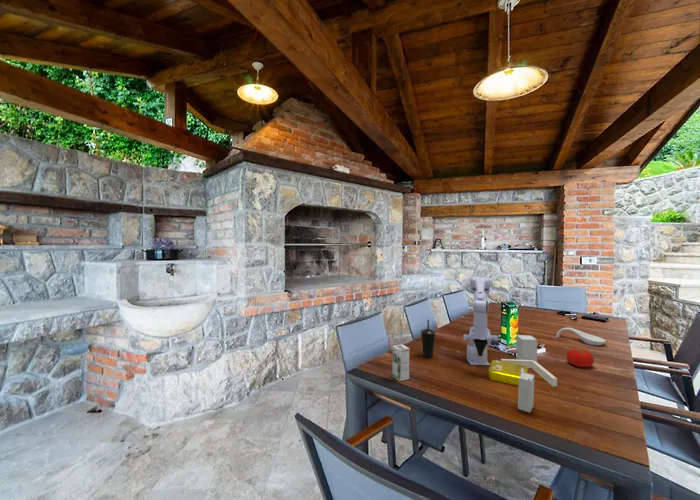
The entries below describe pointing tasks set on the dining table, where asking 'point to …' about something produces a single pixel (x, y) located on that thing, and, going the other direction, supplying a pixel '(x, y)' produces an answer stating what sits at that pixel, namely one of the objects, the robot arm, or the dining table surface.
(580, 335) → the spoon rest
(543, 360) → the dining table surface
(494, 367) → the element tile
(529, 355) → the supplement box
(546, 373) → the white l-shaped strip
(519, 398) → the skincare box
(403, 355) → the syrup box
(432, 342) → the drinking cup
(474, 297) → the robot arm
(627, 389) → the dining table surface
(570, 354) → the tomato
